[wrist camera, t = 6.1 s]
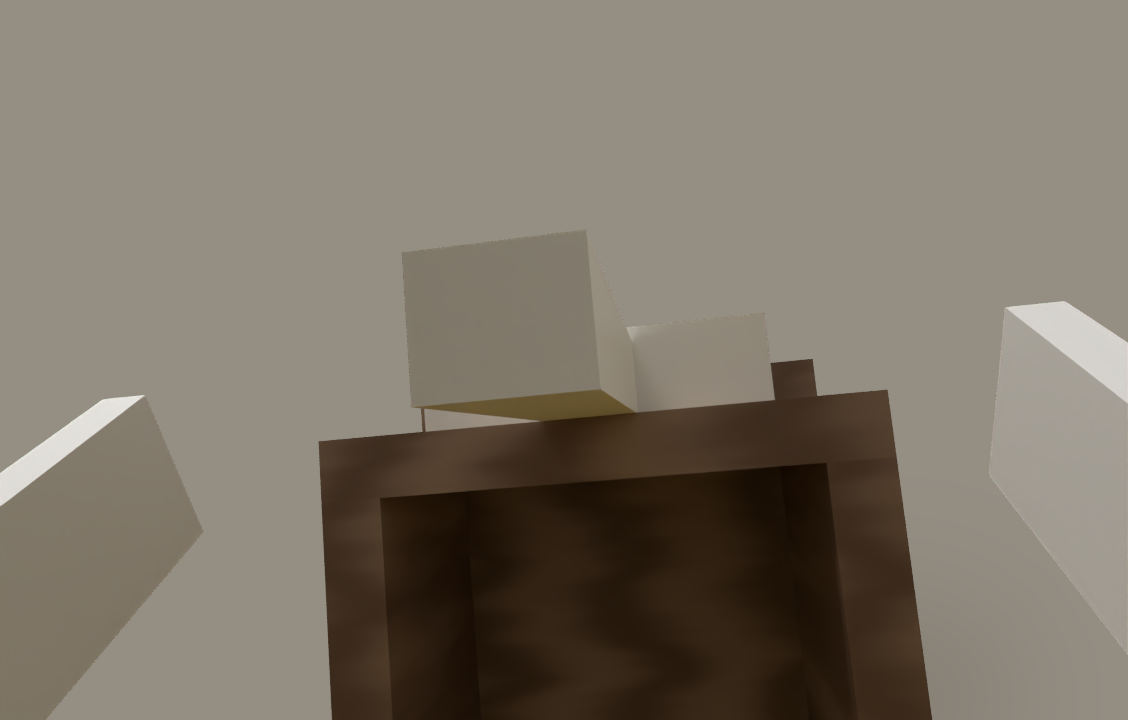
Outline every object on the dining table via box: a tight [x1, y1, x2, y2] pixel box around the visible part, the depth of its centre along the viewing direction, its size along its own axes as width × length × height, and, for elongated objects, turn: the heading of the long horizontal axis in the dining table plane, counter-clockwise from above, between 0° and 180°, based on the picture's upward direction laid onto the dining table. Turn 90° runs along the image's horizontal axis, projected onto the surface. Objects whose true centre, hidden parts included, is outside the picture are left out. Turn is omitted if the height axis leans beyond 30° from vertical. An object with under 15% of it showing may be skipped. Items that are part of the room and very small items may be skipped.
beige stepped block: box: [402, 230, 775, 432], centre depth 22 cm, size 12×22×3 cm, turn 172°
